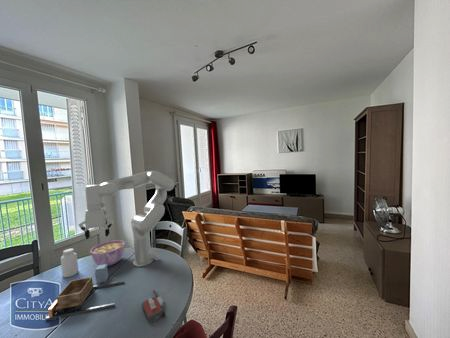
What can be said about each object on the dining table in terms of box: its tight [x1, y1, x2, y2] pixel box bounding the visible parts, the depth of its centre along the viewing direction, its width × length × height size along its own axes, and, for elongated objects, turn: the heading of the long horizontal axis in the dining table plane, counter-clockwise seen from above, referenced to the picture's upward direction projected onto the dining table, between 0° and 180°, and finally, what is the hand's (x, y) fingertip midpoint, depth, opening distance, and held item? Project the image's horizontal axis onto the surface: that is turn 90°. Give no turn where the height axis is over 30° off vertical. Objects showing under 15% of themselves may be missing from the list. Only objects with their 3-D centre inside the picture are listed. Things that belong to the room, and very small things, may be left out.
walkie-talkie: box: [141, 289, 166, 324], centre depth 92 cm, size 9×4×20 cm
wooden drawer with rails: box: [45, 280, 125, 321], centre depth 99 cm, size 27×19×5 cm
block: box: [94, 264, 109, 284], centre depth 115 cm, size 4×4×8 cm
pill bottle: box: [60, 248, 79, 278], centre depth 123 cm, size 8×8×15 cm
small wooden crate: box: [56, 276, 95, 314], centre depth 98 cm, size 10×15×8 cm, turn 14°
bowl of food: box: [89, 239, 125, 267], centre depth 134 cm, size 20×20×12 cm
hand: (97, 236), depth 113 cm, fingers open, 9 cm apart
